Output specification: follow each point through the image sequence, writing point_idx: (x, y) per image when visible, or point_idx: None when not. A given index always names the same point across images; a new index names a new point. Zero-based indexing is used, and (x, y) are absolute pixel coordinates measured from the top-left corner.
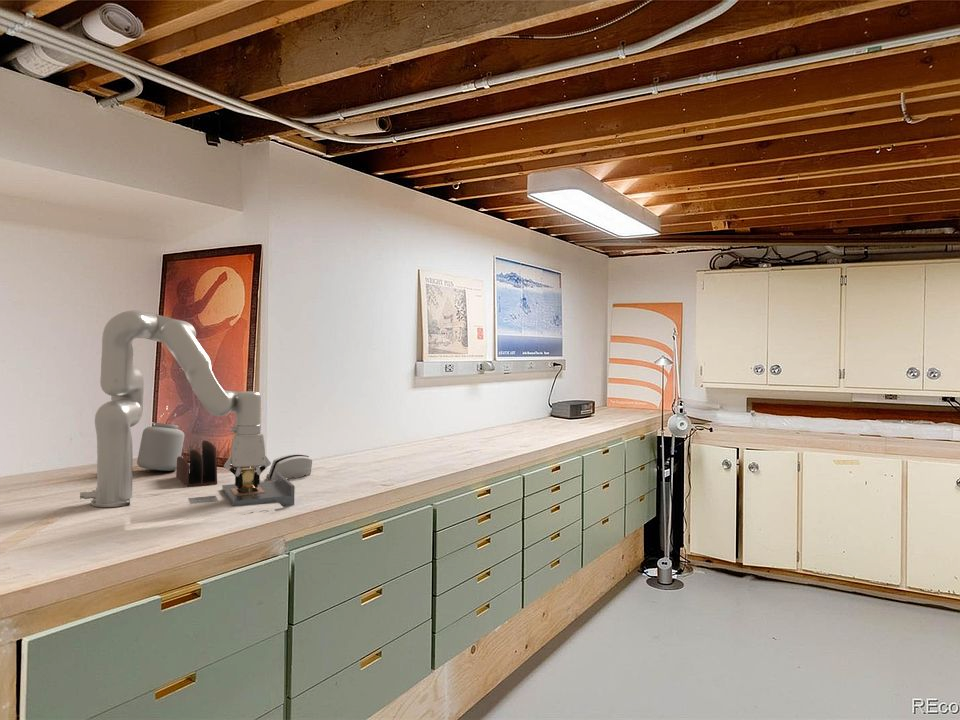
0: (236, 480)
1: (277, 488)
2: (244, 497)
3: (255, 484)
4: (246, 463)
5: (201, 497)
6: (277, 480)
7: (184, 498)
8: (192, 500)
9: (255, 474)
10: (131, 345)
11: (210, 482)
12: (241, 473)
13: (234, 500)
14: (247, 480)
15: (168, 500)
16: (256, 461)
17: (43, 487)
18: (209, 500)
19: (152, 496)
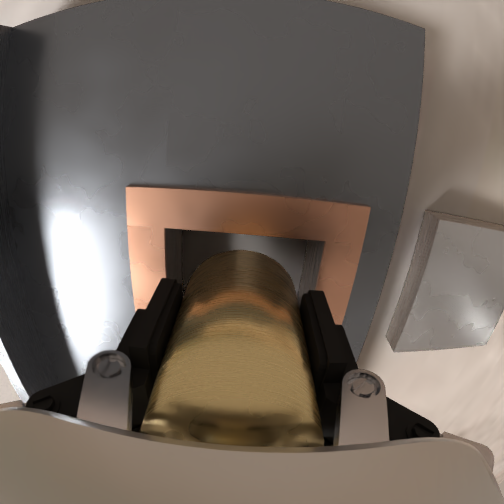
0: (348, 352)
1: (45, 275)
2: (327, 82)
3: (174, 294)
4: (291, 499)
5: (453, 338)
6: None
7: (443, 395)
8: (501, 296)
9: (150, 382)
10: None
11: None
12: (316, 399)
13: (415, 36)
14: (255, 309)
15: (484, 381)
16: (73, 491)
17: (500, 473)
18: (464, 261)
19: (473, 425)
